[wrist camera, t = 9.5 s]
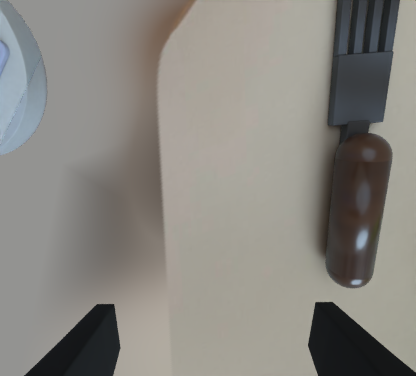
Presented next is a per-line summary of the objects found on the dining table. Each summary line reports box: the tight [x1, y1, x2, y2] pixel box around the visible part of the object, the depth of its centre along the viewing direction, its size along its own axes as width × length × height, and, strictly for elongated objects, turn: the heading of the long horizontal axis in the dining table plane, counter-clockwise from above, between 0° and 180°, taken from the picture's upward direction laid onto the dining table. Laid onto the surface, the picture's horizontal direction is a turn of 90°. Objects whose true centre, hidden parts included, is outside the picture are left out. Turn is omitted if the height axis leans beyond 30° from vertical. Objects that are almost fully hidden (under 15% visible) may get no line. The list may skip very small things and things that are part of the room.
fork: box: [325, 0, 400, 288], centre depth 15 cm, size 20×3×3 cm, turn 4°
